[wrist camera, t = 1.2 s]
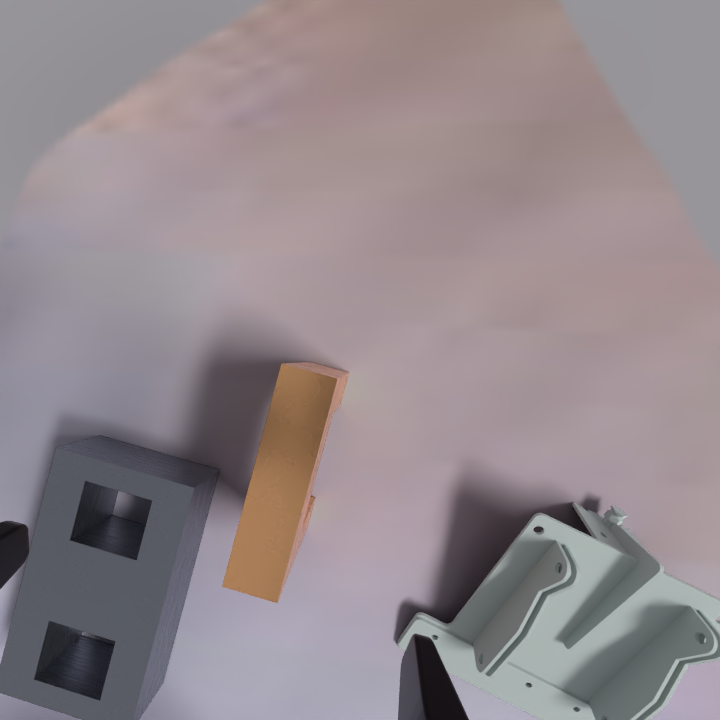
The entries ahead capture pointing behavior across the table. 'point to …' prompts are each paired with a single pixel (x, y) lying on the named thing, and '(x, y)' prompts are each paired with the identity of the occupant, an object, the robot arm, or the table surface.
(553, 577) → the metal bracket
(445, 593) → the table surface
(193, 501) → the slotted plate
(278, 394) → the clip
